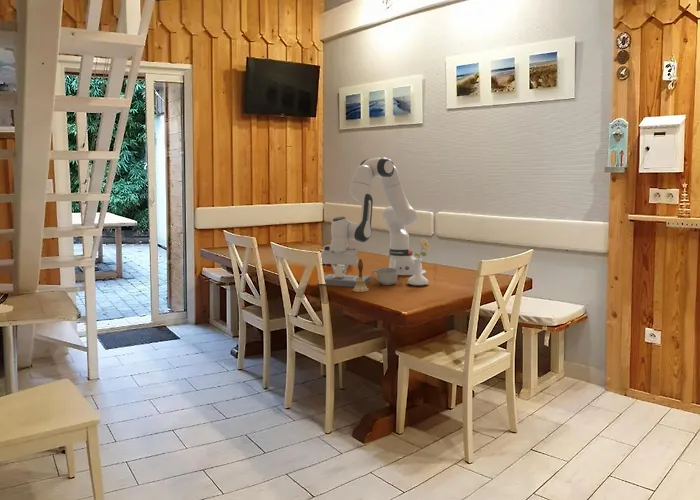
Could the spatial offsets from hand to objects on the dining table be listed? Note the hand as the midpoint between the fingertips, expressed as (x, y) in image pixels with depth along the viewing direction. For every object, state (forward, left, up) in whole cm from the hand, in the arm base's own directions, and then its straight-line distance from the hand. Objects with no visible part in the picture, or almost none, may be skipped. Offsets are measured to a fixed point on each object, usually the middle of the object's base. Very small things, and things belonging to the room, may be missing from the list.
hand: (339, 272), depth 331 cm
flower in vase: (-42, -8, -6) cm, 43 cm away
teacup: (-24, -5, -6) cm, 25 cm away
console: (-3, 0, -6) cm, 6 cm away
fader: (0, 0, -2) cm, 2 cm away
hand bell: (-17, +15, -6) cm, 23 cm away
